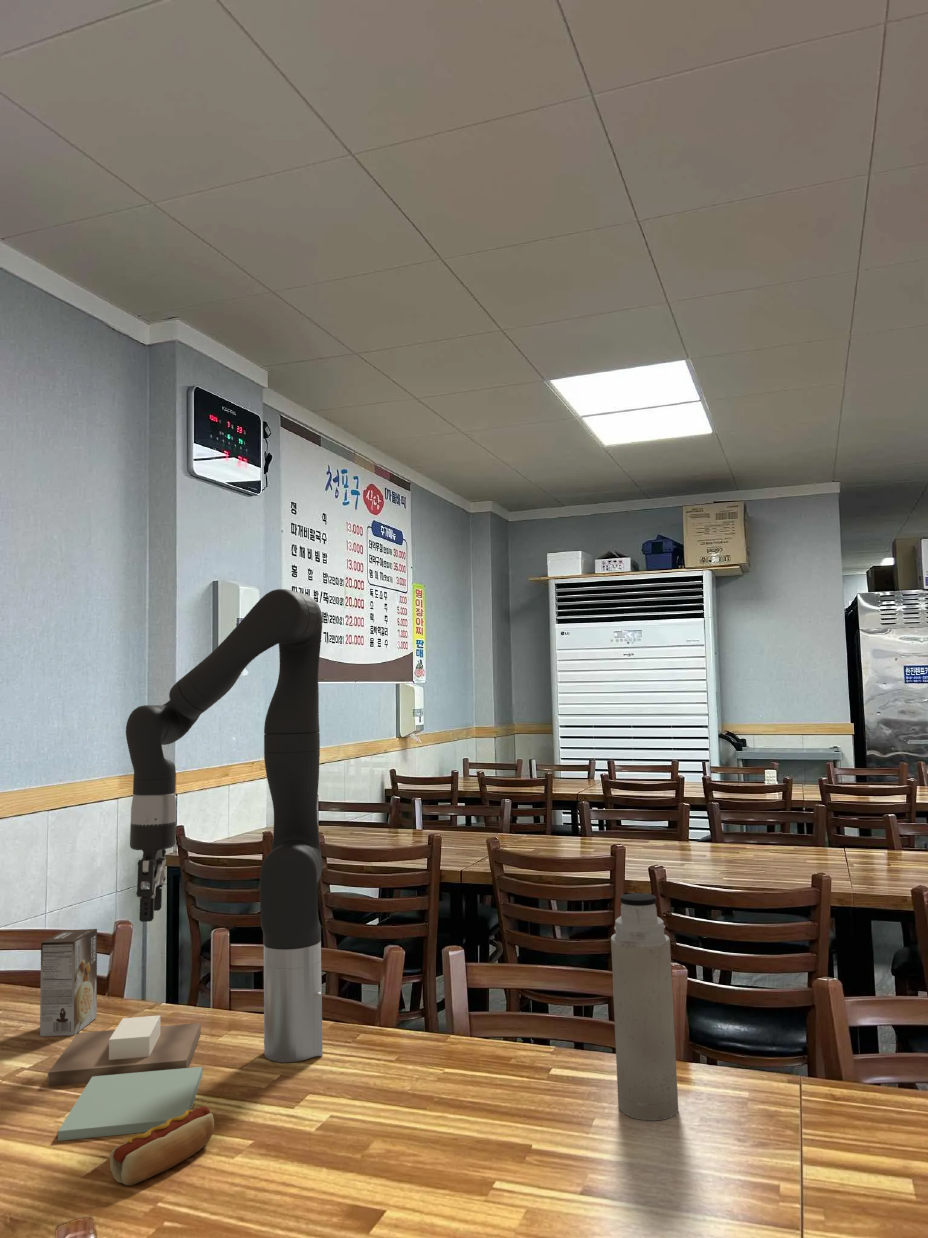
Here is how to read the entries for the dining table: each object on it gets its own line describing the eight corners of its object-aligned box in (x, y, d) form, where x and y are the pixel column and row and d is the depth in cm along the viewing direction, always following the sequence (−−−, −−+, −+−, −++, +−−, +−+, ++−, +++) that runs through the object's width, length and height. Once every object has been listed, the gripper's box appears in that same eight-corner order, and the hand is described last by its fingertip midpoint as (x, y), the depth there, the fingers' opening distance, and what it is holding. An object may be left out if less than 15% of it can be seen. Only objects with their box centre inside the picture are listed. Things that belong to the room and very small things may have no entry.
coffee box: (63, 1019, 165) (64, 929, 166) (97, 1018, 164) (98, 928, 166) (38, 1037, 155) (40, 941, 157) (74, 1036, 155) (76, 940, 157)
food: (130, 1198, 102) (130, 1152, 103) (100, 1186, 105) (100, 1141, 106) (223, 1146, 114) (223, 1105, 115) (193, 1136, 117) (193, 1096, 118)
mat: (202, 1075, 137) (202, 1066, 137) (185, 1128, 119) (185, 1118, 119) (92, 1085, 134) (92, 1076, 134) (57, 1141, 117) (58, 1131, 117)
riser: (200, 1035, 154) (200, 1023, 154) (186, 1074, 137) (186, 1060, 138) (77, 1045, 151) (77, 1033, 151) (47, 1086, 134) (48, 1072, 134)
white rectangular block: (160, 1034, 149) (160, 1015, 150) (149, 1056, 140) (149, 1036, 140) (122, 1037, 148) (122, 1018, 149) (108, 1060, 139) (109, 1040, 139)
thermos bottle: (626, 1091, 127) (617, 888, 129) (683, 1100, 123) (673, 891, 126) (611, 1115, 119) (601, 899, 122) (671, 1125, 116) (660, 903, 119)
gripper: (169, 824, 150) (167, 924, 148) (181, 815, 164) (178, 906, 162) (122, 825, 149) (119, 926, 147) (138, 816, 163) (135, 907, 161)
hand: (150, 915), depth 155 cm, fingers open, 8 cm apart
